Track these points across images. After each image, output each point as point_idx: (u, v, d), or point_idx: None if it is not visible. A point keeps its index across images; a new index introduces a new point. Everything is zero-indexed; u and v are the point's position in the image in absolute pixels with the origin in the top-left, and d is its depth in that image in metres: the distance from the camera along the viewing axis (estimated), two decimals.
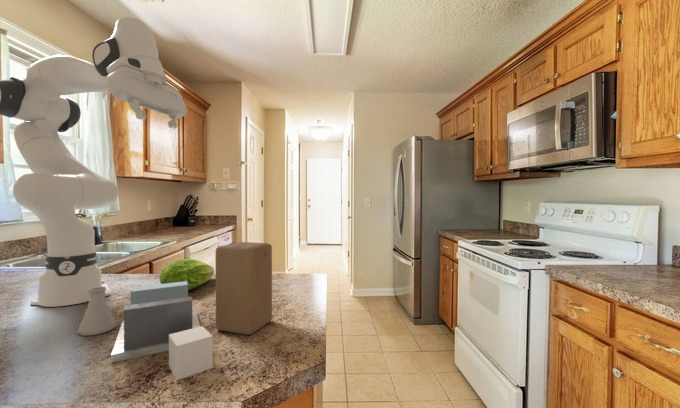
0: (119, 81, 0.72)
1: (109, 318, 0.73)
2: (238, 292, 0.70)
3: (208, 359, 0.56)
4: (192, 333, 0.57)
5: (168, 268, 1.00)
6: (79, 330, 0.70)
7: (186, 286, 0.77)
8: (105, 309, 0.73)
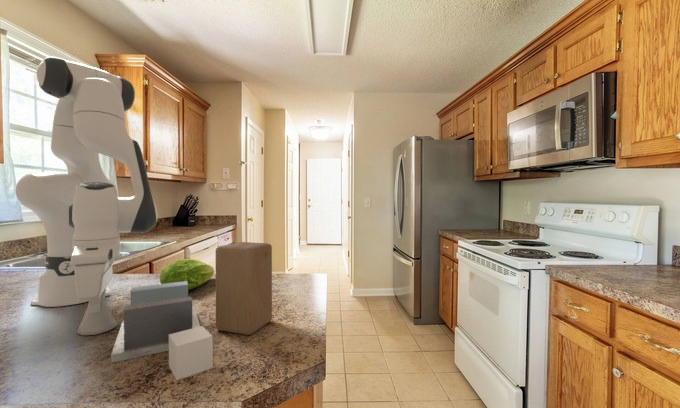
0: (98, 287, 0.65)
1: (109, 318, 0.73)
2: (238, 292, 0.70)
3: (208, 359, 0.56)
4: (192, 333, 0.57)
5: (168, 268, 1.00)
6: (79, 330, 0.70)
7: (186, 286, 0.77)
8: (105, 309, 0.73)
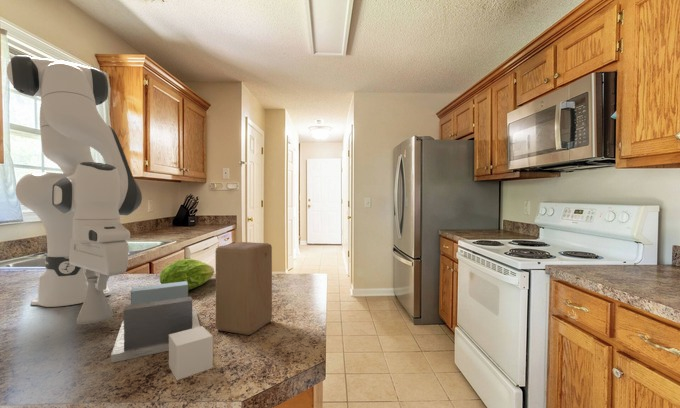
0: (127, 262, 0.70)
1: None
2: (238, 292, 0.70)
3: (208, 359, 0.56)
4: (192, 333, 0.57)
5: (168, 268, 1.00)
6: (81, 320, 0.70)
7: (186, 286, 0.77)
8: (104, 296, 0.74)
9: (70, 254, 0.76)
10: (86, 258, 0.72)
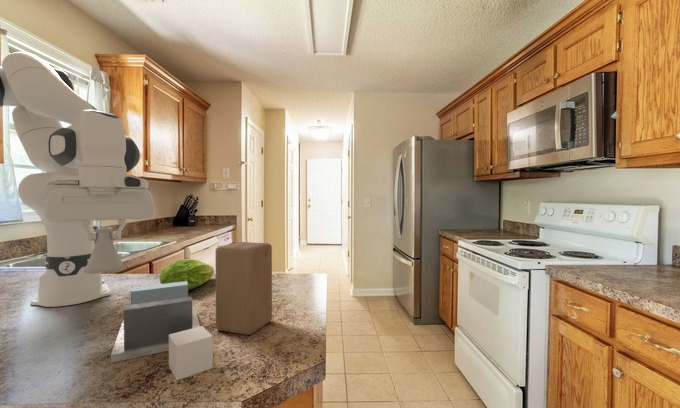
0: None
1: None
2: (238, 292, 0.70)
3: (208, 359, 0.56)
4: (192, 333, 0.57)
5: (168, 268, 1.00)
6: (108, 268, 0.69)
7: (186, 286, 0.77)
8: None
9: (51, 209, 0.66)
10: (98, 208, 0.70)
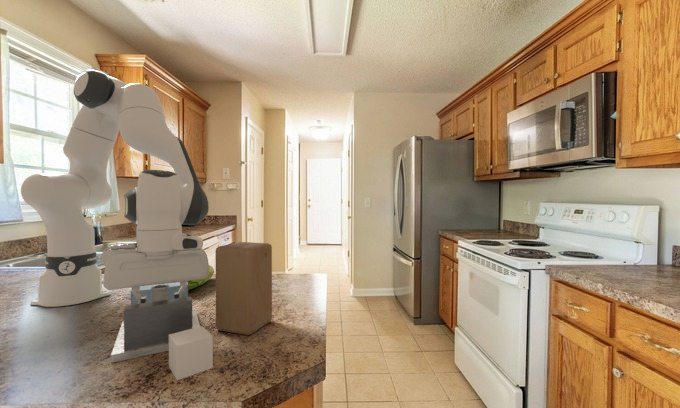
0: None
1: None
2: (238, 292, 0.70)
3: (208, 359, 0.56)
4: (192, 333, 0.57)
5: None
6: None
7: (186, 286, 0.77)
8: None
9: (110, 277, 0.63)
10: (155, 272, 0.67)
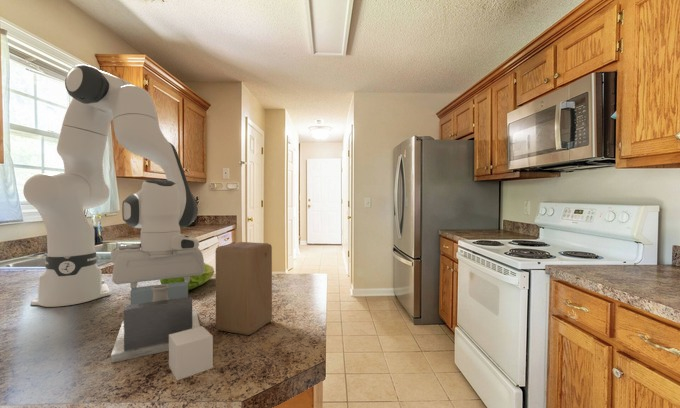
0: None
1: None
2: (238, 292, 0.70)
3: (208, 359, 0.56)
4: (192, 333, 0.57)
5: None
6: None
7: (186, 286, 0.77)
8: None
9: (118, 273, 0.72)
10: (157, 269, 0.76)
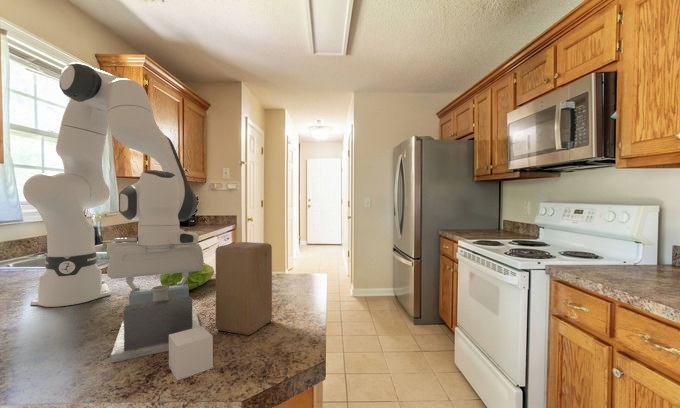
0: None
1: None
2: (238, 292, 0.70)
3: (208, 359, 0.56)
4: (192, 333, 0.57)
5: None
6: None
7: (187, 289, 0.74)
8: None
9: (113, 267, 0.69)
10: (155, 264, 0.74)
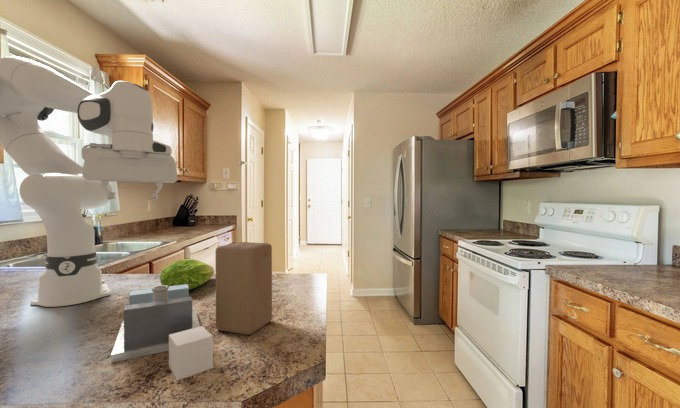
0: None
1: None
2: (238, 292, 0.70)
3: (208, 359, 0.56)
4: (192, 333, 0.57)
5: (169, 268, 1.00)
6: None
7: (187, 289, 0.74)
8: None
9: (88, 168, 0.73)
10: (128, 170, 0.77)
